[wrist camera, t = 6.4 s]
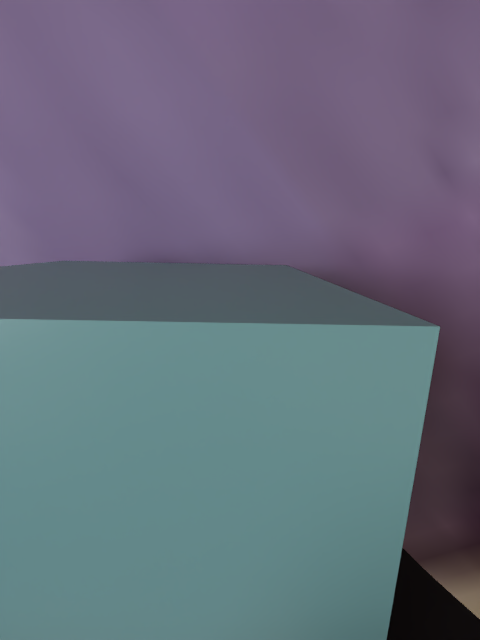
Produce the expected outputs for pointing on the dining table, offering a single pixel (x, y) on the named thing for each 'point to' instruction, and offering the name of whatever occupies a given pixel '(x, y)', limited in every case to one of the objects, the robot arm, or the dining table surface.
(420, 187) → the dining table surface
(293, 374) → the teal rectangular box
